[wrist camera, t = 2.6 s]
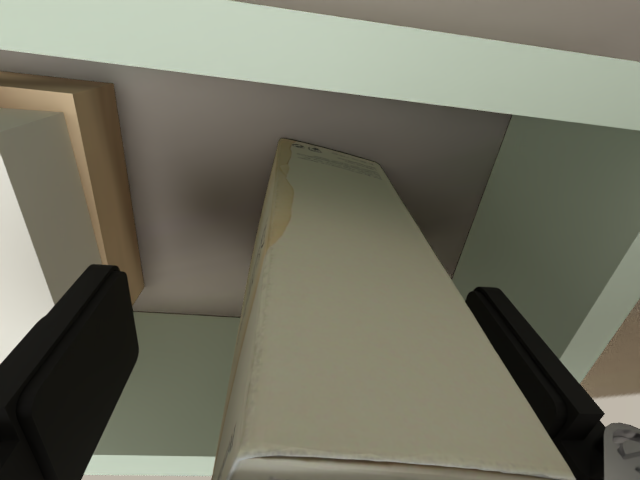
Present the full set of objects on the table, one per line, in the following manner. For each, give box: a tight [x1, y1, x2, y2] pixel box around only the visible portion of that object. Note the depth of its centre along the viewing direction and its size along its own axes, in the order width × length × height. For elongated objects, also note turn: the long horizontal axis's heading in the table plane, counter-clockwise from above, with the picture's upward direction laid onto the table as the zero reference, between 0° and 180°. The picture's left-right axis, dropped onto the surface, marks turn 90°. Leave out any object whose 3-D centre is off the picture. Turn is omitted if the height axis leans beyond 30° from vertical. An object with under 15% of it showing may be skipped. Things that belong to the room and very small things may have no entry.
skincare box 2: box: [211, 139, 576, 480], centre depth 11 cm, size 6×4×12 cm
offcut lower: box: [0, 71, 144, 306], centre depth 14 cm, size 5×9×3 cm, turn 174°
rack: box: [0, 0, 640, 476], centre depth 12 cm, size 22×14×7 cm, turn 83°
